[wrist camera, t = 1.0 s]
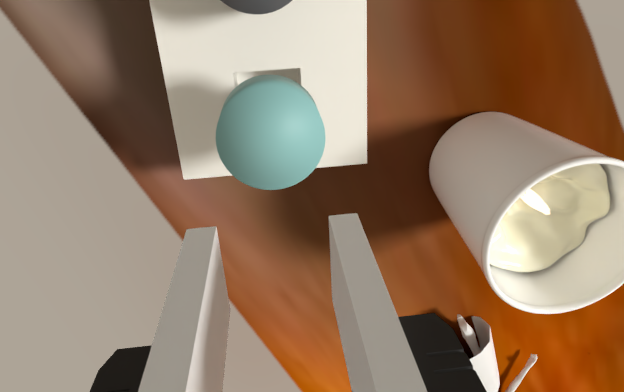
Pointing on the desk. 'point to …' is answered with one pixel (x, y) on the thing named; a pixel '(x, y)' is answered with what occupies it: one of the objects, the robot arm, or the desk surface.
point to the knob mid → (256, 5)
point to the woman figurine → (488, 355)
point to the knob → (270, 132)
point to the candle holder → (533, 211)
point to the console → (263, 70)
